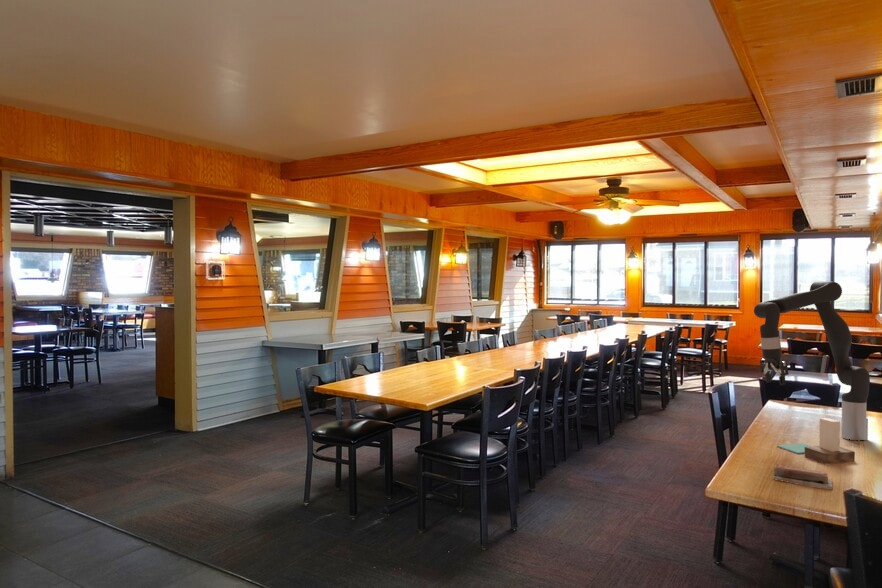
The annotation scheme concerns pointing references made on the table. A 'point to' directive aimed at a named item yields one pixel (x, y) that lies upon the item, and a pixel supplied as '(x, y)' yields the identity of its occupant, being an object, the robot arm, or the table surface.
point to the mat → (795, 448)
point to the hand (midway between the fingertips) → (775, 383)
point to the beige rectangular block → (829, 434)
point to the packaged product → (802, 476)
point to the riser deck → (829, 455)
